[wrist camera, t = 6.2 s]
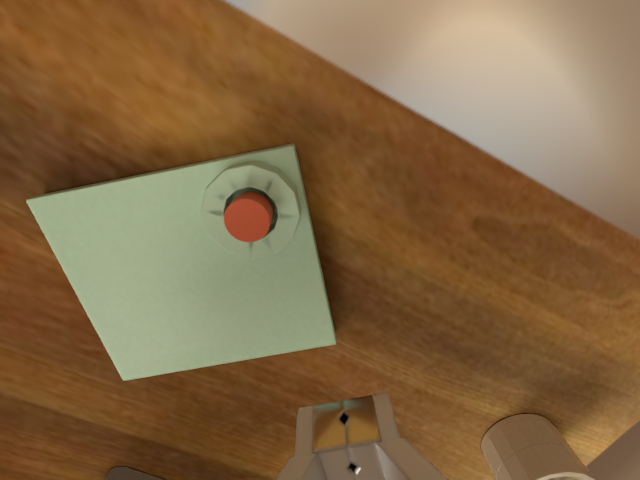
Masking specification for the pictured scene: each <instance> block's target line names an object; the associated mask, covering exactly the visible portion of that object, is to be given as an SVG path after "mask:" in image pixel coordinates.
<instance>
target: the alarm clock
mask: <svg viewBox="0 0 640 480" xmlns="http://www.w3.org/2000/svg"><path fill="white" fill-rule="evenodd" d="M104 480H164V479H161V478H158V477H155V476H152V475H149V474H146V473H143V472H140V471H137V470H134V469H131V468H128V467H115V468H112V469H110V470H109V472H108V474H107V476H106V478H105V479H104Z"/></svg>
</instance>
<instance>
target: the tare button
mask: <svg viewBox="0 0 640 480" xmlns="http://www.w3.org/2000/svg"><path fill="white" fill-rule="evenodd" d="M272 219H273V208H272V205H271V203H270V202H269V200H268V199H267V198H266V197H264V196H263V195H261V194H259V193H256V192H245V193H242V194H240V195H238V196H237V197H236V198H235V199H234V200H233V201H232V202H231V204H230V205H229V206H228V207H227V209H226V211H225V214H224V224H225V227H226V229H227V231H228V232H229V233H230V234H231V235H232V236H233V237H234V238H236V239H237V240H240V241H243V242H255V241H258V240H260V239H261V238H263V237H264V236H265V235H266V234H267V232H268V230H269V228H270V225H271V222H272Z"/></svg>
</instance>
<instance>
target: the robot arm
mask: <svg viewBox="0 0 640 480" xmlns="http://www.w3.org/2000/svg"><path fill="white" fill-rule="evenodd" d="M276 480H448V479H447V478H446V477H445V476H444V475H443V474H442V473H441V472H440V471H439V470H438V469H437V468H436V467H435V466H434V465H433V464H432V463H431V462H430V461H428V460H427V459H426V458H425V457H424V456H423V455H422V454H421V453H420V452H419V451H418V450H417V449H416V448H415V447H414V446H413V445H412V444H411V443H410V442H409V441H408V440H407V439H406V438H400V437H399V433H398V429H397V425H396V421H395V417H394V413H393V409H392V405H391V401H390V397H389V394H388V392H386V393H380V394H375V395H373V396H372V395H369V396H364V397H358V398H353V399H348V400H343V401H340V402H333V403H327V404H320V405H314V406H308V407H302V408H299V409H298V412H297V425H296V441H295V456H294V457H290V458H289V460H288V461H287V463H286V464H285V466H284V468H283V469H282V471H281V472H280V474H279V475H278V477H277V478H276Z"/></svg>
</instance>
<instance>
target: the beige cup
mask: <svg viewBox="0 0 640 480" xmlns="http://www.w3.org/2000/svg"><path fill="white" fill-rule="evenodd" d="M481 450H482V453H483V455H484V458H485V460H486V462H487V464H488V466H489V469H490V471H491V473H492V475H493V477H494V479H495V480H595V478H594V477H593V476H592V474H591V473H590V472H589V471H588V469H587V468H586V467H585V465H584V464H583V463H582V461H581V460H580V459H579V457H578V456H577V455H576V453H575V452H574V451H573V449H572V448H571V447H570V445H569V444H568V443H567V442H566V440H565V439H564V438H563V436H562V435H561V434H560V432H559V431H558V430H557V428H556V427H555V426H554V425H553V424H552V423H551V422H550V421H549V420H548V419H546V418H544V417H542V416H539V415H535V414H519V415H514V416H511V417H508V418H505V419H503V420H501V421H499V422H498V423H496V424H495V425H493V426H492V427H491V428H490V429H489V430H488V431H487V432H486V434H485V435H484V437H483V439H482V443H481Z"/></svg>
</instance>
